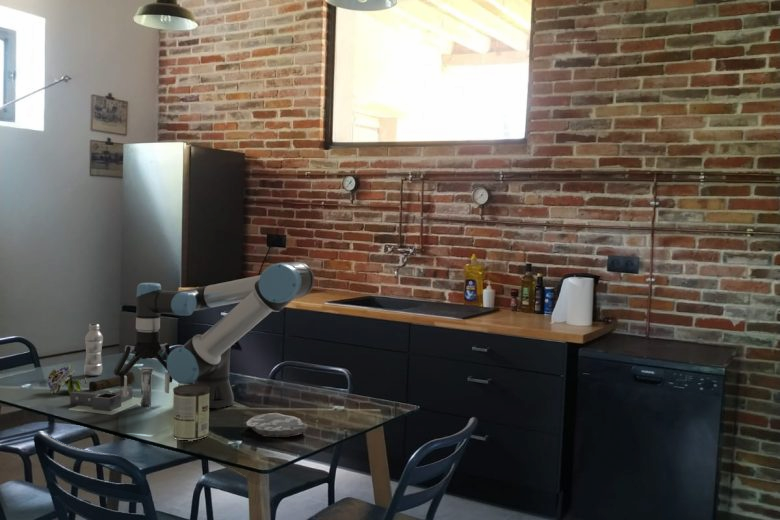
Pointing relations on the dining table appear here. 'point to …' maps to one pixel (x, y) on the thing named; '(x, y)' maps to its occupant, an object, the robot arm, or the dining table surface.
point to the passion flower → (63, 380)
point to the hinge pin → (146, 386)
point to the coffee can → (191, 412)
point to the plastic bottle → (93, 351)
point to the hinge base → (96, 400)
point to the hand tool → (110, 382)
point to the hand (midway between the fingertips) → (145, 394)
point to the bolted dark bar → (129, 393)
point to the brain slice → (276, 424)
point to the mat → (124, 406)
